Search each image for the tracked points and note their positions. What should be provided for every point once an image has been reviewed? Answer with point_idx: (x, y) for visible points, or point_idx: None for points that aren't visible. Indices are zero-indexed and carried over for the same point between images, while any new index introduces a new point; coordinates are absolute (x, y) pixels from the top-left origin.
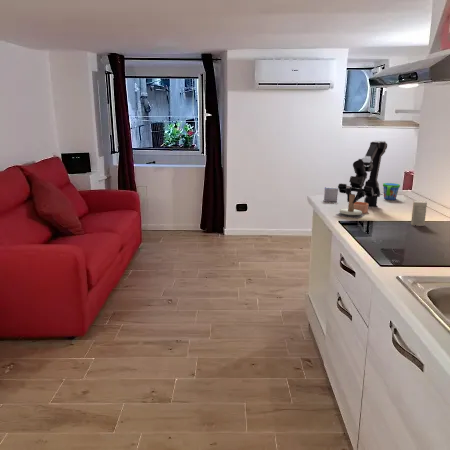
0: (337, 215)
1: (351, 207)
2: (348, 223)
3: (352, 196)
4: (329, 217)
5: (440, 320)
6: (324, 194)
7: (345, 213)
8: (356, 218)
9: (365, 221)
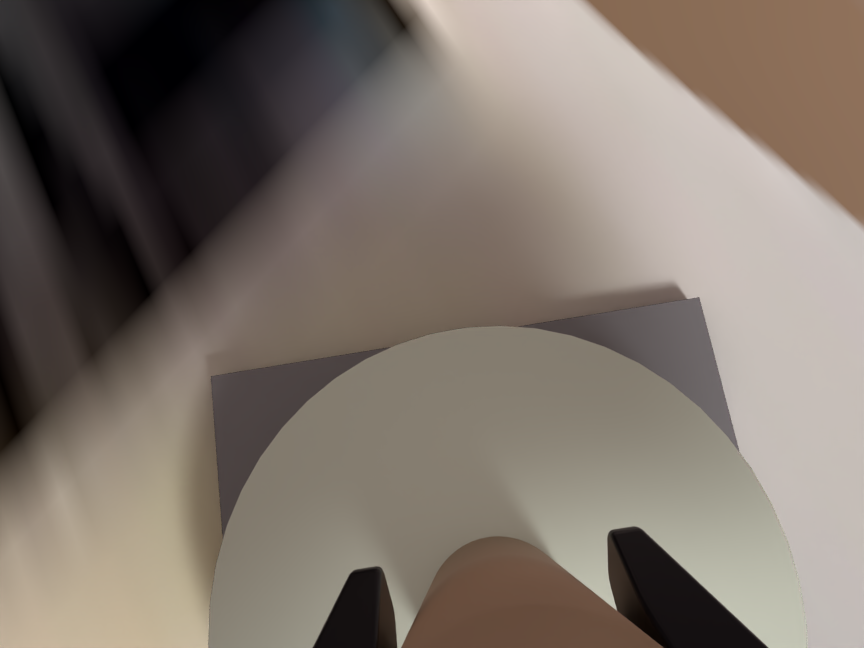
0: (647, 308)
1: (454, 562)
2: (228, 32)
3: (440, 621)
4: (693, 135)
5: None
6: None
7: (484, 329)
8: (240, 381)
9: (58, 390)
